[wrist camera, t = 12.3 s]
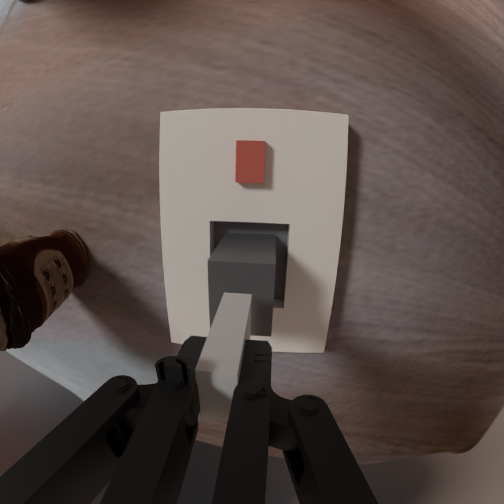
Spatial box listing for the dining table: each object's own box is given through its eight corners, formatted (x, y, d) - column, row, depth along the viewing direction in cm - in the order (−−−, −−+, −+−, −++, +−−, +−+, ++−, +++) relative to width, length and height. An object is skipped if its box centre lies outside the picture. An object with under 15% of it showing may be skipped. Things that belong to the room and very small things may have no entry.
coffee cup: (102, 226, 25) (3, 277, 13) (101, 303, 28) (27, 377, 15) (40, 212, 25) (-52, 247, 13) (43, 282, 28) (-32, 335, 15)
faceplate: (169, 115, 22) (156, 110, 19) (342, 118, 21) (351, 113, 18) (177, 331, 28) (168, 347, 25) (321, 340, 27) (324, 358, 24)
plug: (225, 232, 24) (207, 260, 17) (275, 234, 24) (275, 264, 17) (226, 288, 25) (210, 332, 19) (272, 291, 25) (271, 336, 19)
